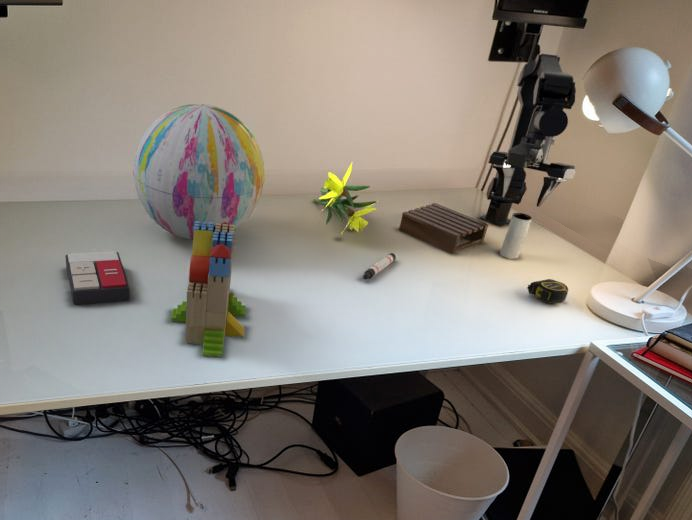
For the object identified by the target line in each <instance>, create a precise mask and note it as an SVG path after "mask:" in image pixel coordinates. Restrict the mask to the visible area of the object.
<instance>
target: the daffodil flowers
mask: <svg viewBox="0 0 692 520" xmlns="http://www.w3.org/2000/svg"><path fill="white" fill-rule="evenodd" d="M352 170H353V161H351V163H350V164H349V167H348V168H347V170H346V172H345V174H344V176H343V177H342V180H341V179H339V177H338V176H337V175H336V174H334V173H333V172H330V171H328V172H327V175H328V177H327V178H326V180H325V182H324V184H323V187H322V188H320V190H319V192H320V193H321V195H322V196H320V197H319V198H318V199H316V198H313V201H314V202H315V203H317V204H319V205H323V206H324V208H323V210H325V209H326V210H327V215H326V219H325V225H328V224H329V222H330V221H331V219H332V216H333V213H332V209H333V211H334V212H335V213H336V215H337V216H338V218H339V220H340V221H341V223H342V224H344V218H343V217H344V216H343V214H344V215H345V216H346V217H347V218H348V222H347V224H346V226H345V228H344V229H343V230H342V232H341V233H340V235H342V234H343V232H344V231H345V229H346V228H347V227H348V228H349V229H350V230H351V231H352V230H353V229H354V230H355V231H356V232H357V233H358V232H359V230H360V231H363V230H364V228H366V227H367V225H368V224H369V222H368V221H367V220H365V219H364V218H362V217H361V216H364V215H366V214H369V213H371V212H374V211H376V210H377V208H376V207H373V205H375V204H376V203H377V202H378V200H373V201H364V202H363V201H361V202H354V200H356V199H357V198H358V197H359V195H353V196H352V195H351V193H350V192H359V191H363V190H366V189H369V188H371V186H370V185H360V184H359V185H358V184H357V185H353V184H347V181H348V179H349V178H350V175H351V173H352ZM349 191H350V192H349ZM343 197H345V198H343ZM350 207H351V208H350ZM331 208H332V209H331ZM352 208H353V209H352ZM361 208H363V209H361ZM354 209H361V210H358V211H355V210H354ZM342 213H343V214H342Z"/></svg>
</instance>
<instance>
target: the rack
mask: <svg viewBox="0 0 692 520" xmlns="http://www.w3.org/2000/svg"><path fill="white" fill-rule="evenodd" d="M489 227H490V224H489V223H488V222H487V223H486V222H484V221H483V220H482V221H481V220H479V219H478V218H477V219H476V218H475V217H474V218H473V217H472V216H469V215H466V214H464V213H463V212H462V213H461V212H459V211H456V210H454V209H451V208H449V207H446V206H444V205H441V204H439V203H436V202H433V203H431V204H426V205H424V206H420V207H416V208H414V209H409V210H408V211H403V212H402V213H401V219H400V223H399V228H398V231H400V232H402V233H404V234H407V235H409V236H411V237H413V238H415V239H417V240H419V241H422V242H424V243H426V244H429V245H431V246H433V247H435V248H438V249H440V250H442V251H444V252H447V253H448V254H451V255H455V254H456V253H457V251H460V250H463V249H465V248H468V247H471V246H474V245H476V244H483V243H484V240H485V237H486V234H487V231H488V228H489ZM461 237H464V238H466V239H469V240H470V241H467V242H465V243H461V244H459V241H460V238H461Z"/></svg>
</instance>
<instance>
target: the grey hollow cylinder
mask: <svg viewBox="0 0 692 520" xmlns="http://www.w3.org/2000/svg"><path fill="white" fill-rule="evenodd" d="M510 218H511V219H510V220H511V221H510V223H508V227H507V231H506V233H505V236H504V240H503V242H502V245H501V248H500V251H499V254H500V256H502V257H504V258H506V259H509V260H516V259H519V257H520V255H521V252H522V249H523V246H524V243H525V240H526V238H527V235H528V232H529V229H530V227H531V223H532V220H533V217H532V216H531V215H529V214H527V213H523V212H514V213H512V215H511V217H510Z"/></svg>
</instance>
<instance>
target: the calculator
mask: <svg viewBox="0 0 692 520" xmlns="http://www.w3.org/2000/svg"><path fill="white" fill-rule="evenodd" d="M65 269H66V274H67V275H66V276H67V278H68V284H69V289H70V295H71V301H72V304H73V305H85V304H99V303H100V304H101V303H109V302H110V303H111V302H121V301H122V302H123V301H130V285H129V281H128V278H127V276H126V272H125V269H124V266H123V263H122V260H121V256H120V253H119V252H118V251H116V250H115V251H113V250H111V251H93V252H77V253H76V252H75V253H68V254H65Z"/></svg>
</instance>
